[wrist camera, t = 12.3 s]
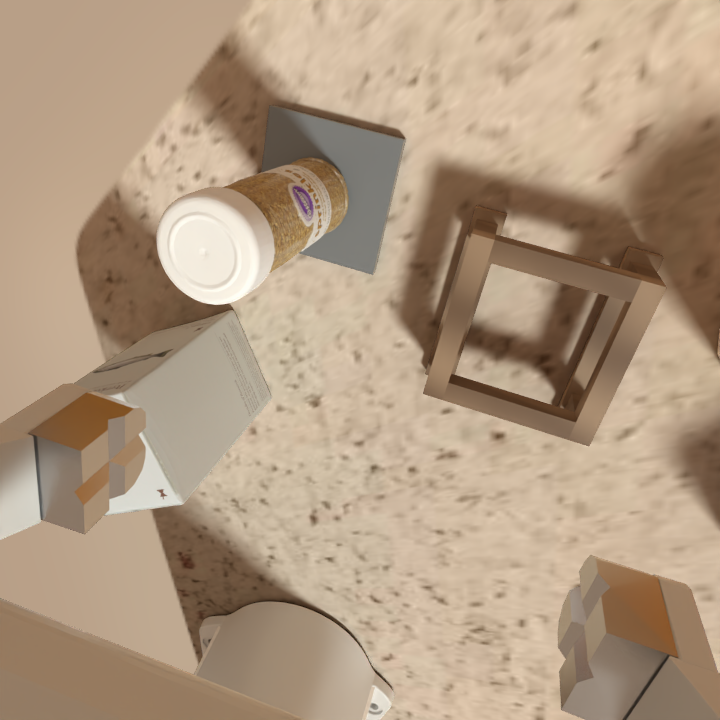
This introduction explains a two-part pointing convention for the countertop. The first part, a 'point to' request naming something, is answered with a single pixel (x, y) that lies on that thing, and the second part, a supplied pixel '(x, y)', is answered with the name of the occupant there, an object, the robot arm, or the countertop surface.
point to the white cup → (719, 345)
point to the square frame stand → (600, 354)
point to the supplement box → (183, 404)
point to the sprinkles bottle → (248, 228)
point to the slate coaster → (357, 166)
